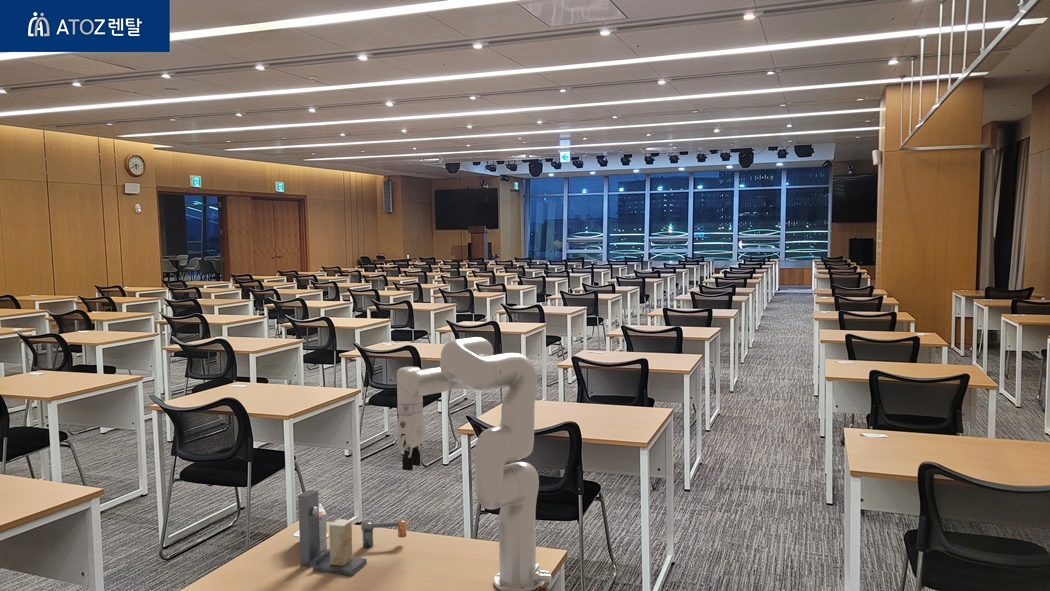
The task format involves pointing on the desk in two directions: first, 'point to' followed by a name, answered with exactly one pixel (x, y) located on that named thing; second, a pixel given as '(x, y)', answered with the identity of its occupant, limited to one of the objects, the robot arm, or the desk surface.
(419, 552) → the desk surface
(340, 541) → the box
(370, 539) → the lever post
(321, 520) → the light bulb box
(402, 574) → the desk surface
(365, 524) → the lever
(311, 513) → the press
